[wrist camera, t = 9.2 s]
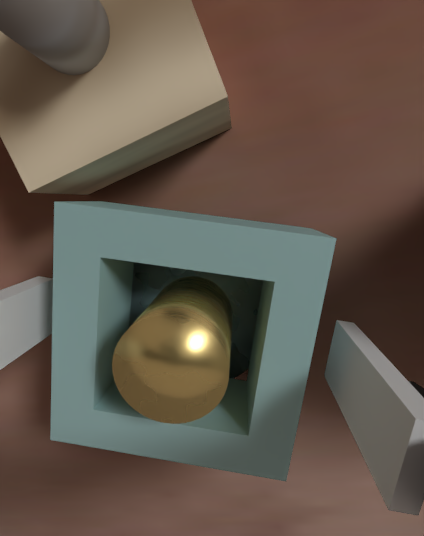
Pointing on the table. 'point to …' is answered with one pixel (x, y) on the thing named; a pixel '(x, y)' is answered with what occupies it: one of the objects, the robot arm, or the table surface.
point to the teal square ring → (118, 319)
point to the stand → (103, 89)
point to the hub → (184, 340)
